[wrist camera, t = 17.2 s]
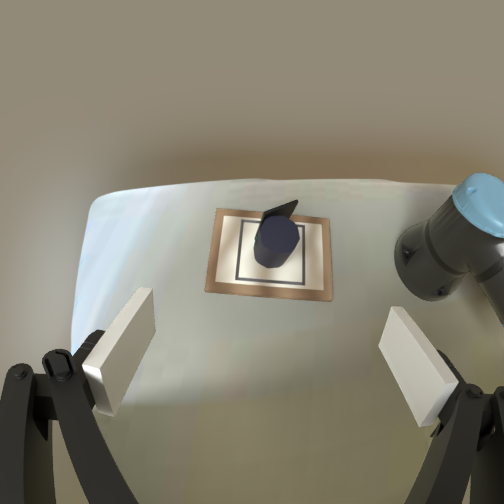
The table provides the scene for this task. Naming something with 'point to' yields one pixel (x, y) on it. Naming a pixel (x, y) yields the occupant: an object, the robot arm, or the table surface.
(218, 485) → the table surface
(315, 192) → the table surface
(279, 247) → the speaker
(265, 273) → the picture frame
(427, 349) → the robot arm
